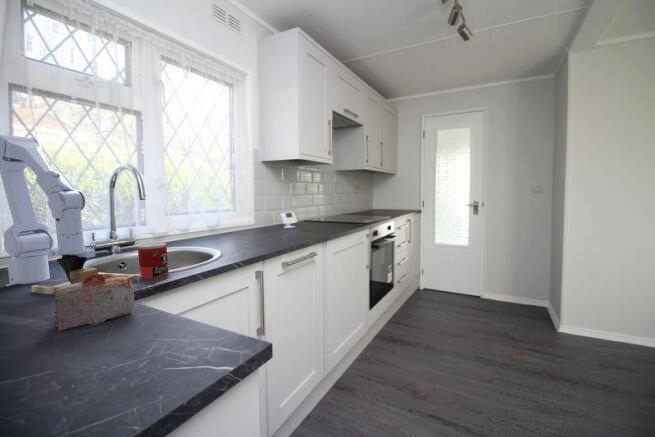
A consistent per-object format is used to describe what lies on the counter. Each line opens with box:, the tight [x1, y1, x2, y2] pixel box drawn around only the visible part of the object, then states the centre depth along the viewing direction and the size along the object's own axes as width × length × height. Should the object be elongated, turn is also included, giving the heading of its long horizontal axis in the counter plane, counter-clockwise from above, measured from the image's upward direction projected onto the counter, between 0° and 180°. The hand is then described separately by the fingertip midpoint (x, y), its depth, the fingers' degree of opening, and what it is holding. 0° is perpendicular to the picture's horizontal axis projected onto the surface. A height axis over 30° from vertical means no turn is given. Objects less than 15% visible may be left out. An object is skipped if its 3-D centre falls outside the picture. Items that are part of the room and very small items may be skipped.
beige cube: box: [69, 267, 99, 284], centre depth 89 cm, size 4×4×4 cm
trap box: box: [31, 271, 138, 295], centre depth 89 cm, size 19×15×3 cm
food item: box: [53, 275, 135, 332], centre depth 68 cm, size 14×8×10 cm, turn 132°
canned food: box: [137, 241, 169, 283], centre depth 98 cm, size 8×8×11 cm
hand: (74, 281), depth 90 cm, fingers closed
